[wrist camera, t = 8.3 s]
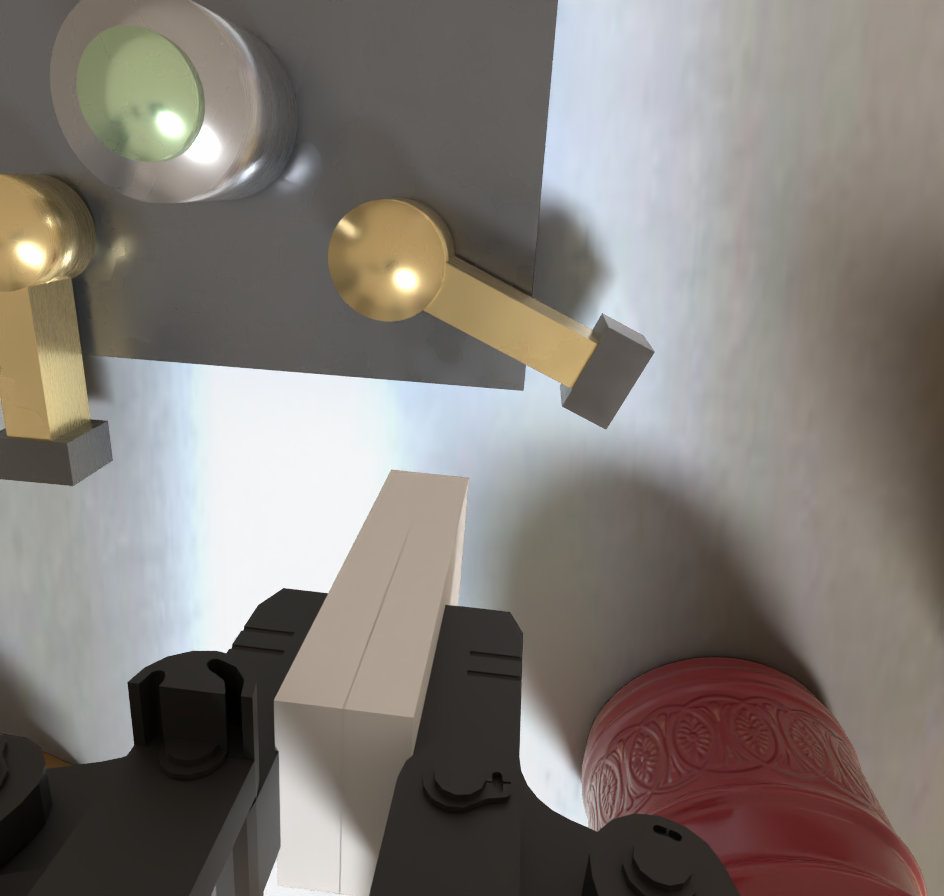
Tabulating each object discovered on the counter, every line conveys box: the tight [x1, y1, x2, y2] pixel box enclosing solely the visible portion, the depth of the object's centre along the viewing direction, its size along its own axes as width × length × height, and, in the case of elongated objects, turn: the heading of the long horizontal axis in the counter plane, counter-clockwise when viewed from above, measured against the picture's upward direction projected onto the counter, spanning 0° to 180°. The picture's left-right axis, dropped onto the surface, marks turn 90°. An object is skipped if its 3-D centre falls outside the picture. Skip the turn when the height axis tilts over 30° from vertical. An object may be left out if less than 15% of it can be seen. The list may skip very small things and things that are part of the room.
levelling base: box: [0, 0, 558, 391], centre depth 25 cm, size 24×14×8 cm, turn 87°
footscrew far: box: [0, 173, 113, 486], centre depth 28 cm, size 12×4×3 cm, turn 177°
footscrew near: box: [328, 198, 654, 429], centre depth 26 cm, size 12×4×3 cm, turn 63°
